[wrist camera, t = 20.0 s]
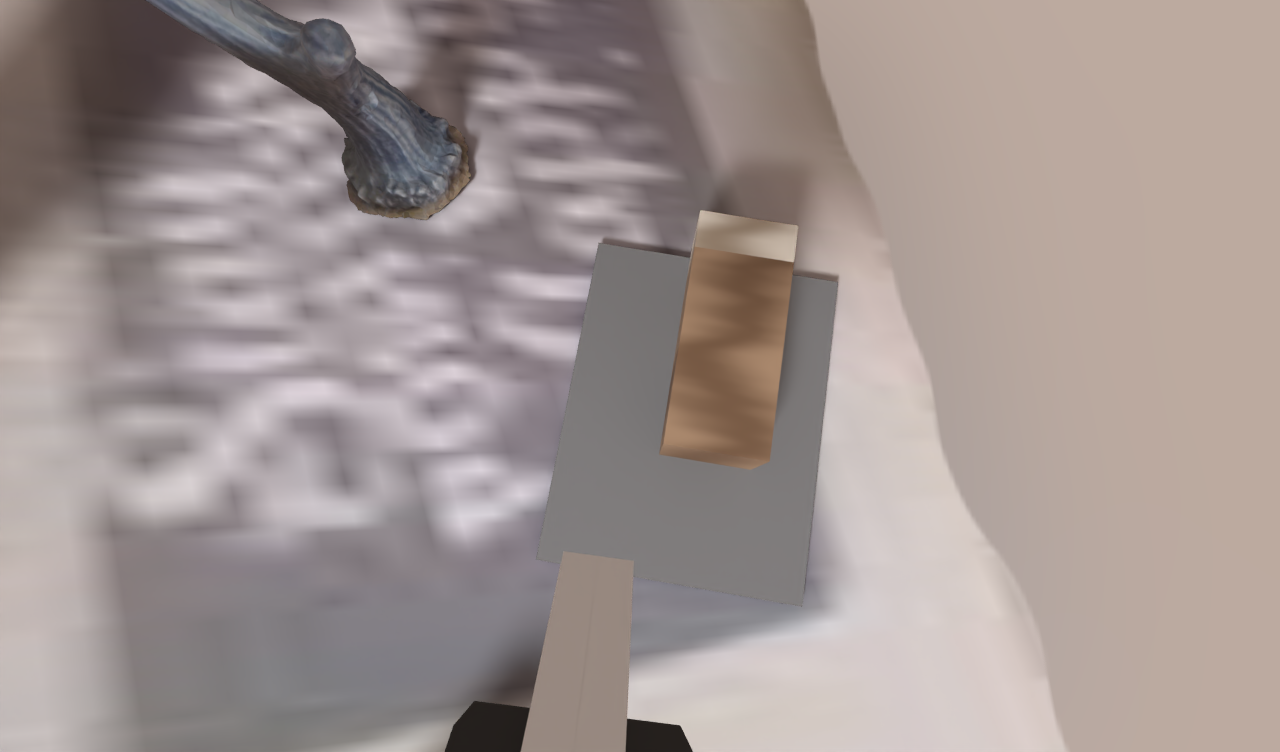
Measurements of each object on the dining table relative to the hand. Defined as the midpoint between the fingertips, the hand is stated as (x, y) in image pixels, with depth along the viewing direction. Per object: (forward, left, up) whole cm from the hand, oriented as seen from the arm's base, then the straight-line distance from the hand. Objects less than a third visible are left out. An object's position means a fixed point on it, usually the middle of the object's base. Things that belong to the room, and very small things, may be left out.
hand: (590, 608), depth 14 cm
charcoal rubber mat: (+3, +8, -21) cm, 23 cm away
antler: (-18, +19, -21) cm, 34 cm away
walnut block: (+4, +6, -18) cm, 19 cm away
